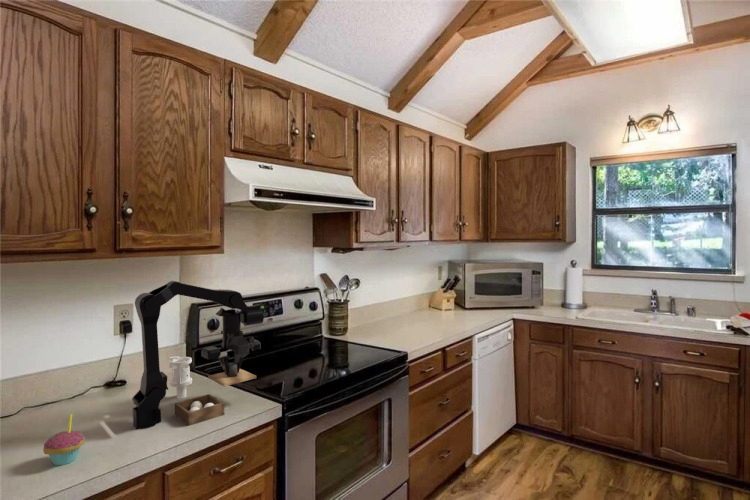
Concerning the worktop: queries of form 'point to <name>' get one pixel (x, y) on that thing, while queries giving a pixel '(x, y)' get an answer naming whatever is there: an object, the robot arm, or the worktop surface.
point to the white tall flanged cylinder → (180, 374)
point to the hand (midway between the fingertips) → (232, 374)
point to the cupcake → (64, 445)
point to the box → (199, 410)
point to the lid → (232, 376)
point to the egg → (196, 405)
